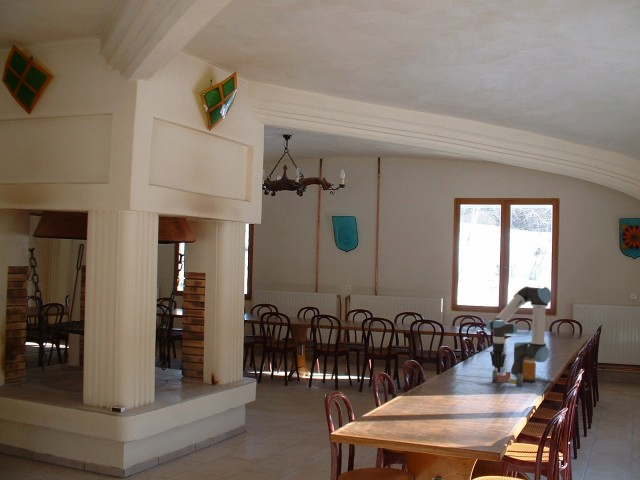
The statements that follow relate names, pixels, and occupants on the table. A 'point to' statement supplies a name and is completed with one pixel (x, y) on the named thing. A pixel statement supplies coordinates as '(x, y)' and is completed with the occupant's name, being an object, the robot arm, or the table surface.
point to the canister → (528, 367)
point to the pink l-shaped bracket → (503, 377)
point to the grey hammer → (517, 380)
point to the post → (494, 376)
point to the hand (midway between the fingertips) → (497, 377)
